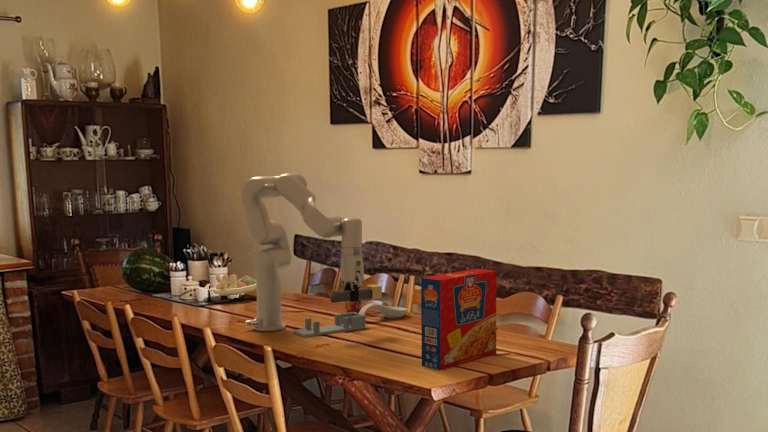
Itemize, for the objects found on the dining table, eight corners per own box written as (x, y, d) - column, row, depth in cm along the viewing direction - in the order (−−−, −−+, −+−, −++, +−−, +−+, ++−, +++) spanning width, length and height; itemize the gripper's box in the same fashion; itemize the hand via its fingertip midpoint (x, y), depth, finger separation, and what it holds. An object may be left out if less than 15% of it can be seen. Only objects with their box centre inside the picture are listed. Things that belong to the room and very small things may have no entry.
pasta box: (440, 370, 209) (440, 280, 207) (421, 365, 215) (421, 277, 213) (496, 353, 228) (496, 270, 227) (477, 349, 234) (477, 268, 232)
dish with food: (203, 305, 319) (202, 275, 319) (202, 295, 346) (202, 268, 346) (263, 302, 327) (263, 272, 326) (258, 292, 354) (257, 265, 353)
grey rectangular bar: (335, 303, 248) (335, 290, 248) (329, 301, 252) (329, 288, 252) (381, 298, 259) (381, 286, 259) (374, 296, 263) (375, 284, 263)
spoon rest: (395, 313, 299) (395, 297, 298) (413, 317, 289) (413, 300, 289) (352, 320, 284) (351, 303, 283) (369, 325, 275) (369, 307, 274)
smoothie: (366, 312, 300) (366, 266, 299) (350, 314, 296) (349, 268, 295) (356, 309, 307) (355, 265, 306) (340, 311, 303) (339, 266, 301)
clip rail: (304, 337, 254) (303, 324, 254) (293, 332, 261) (293, 320, 261) (365, 328, 269) (365, 315, 268) (354, 324, 276) (353, 311, 276)
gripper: (372, 253, 248) (371, 303, 249) (349, 248, 262) (348, 295, 263) (354, 254, 244) (354, 305, 245) (331, 249, 258) (331, 297, 259)
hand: (351, 299), depth 254 cm, fingers closed on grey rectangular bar, 4 cm apart
